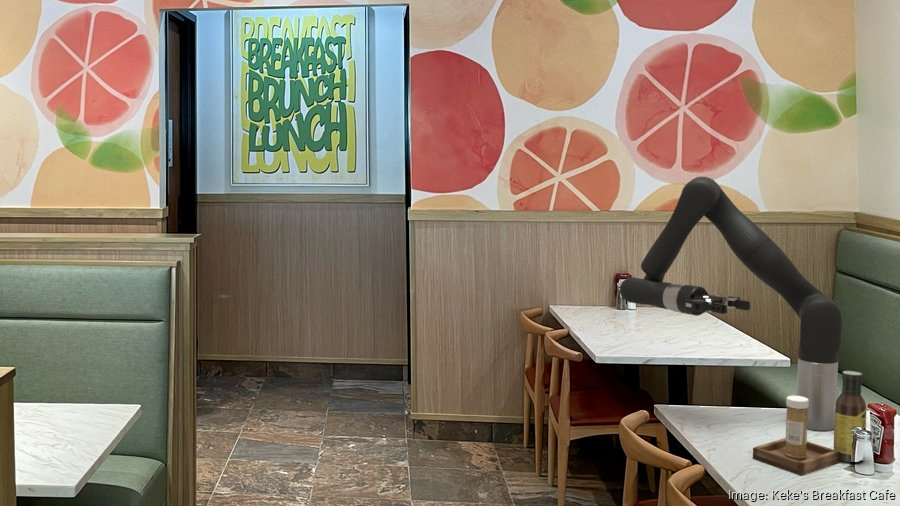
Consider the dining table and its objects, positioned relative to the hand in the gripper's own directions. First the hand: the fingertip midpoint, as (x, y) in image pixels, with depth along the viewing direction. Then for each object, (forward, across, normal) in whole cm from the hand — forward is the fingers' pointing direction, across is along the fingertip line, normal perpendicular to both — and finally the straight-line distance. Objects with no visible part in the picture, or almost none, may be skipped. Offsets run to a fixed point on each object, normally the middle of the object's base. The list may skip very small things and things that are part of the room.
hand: (737, 307), depth 186 cm
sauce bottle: (+24, +8, +32) cm, 41 cm away
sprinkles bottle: (+18, -2, +31) cm, 36 cm away
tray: (+18, -2, +32) cm, 37 cm away
